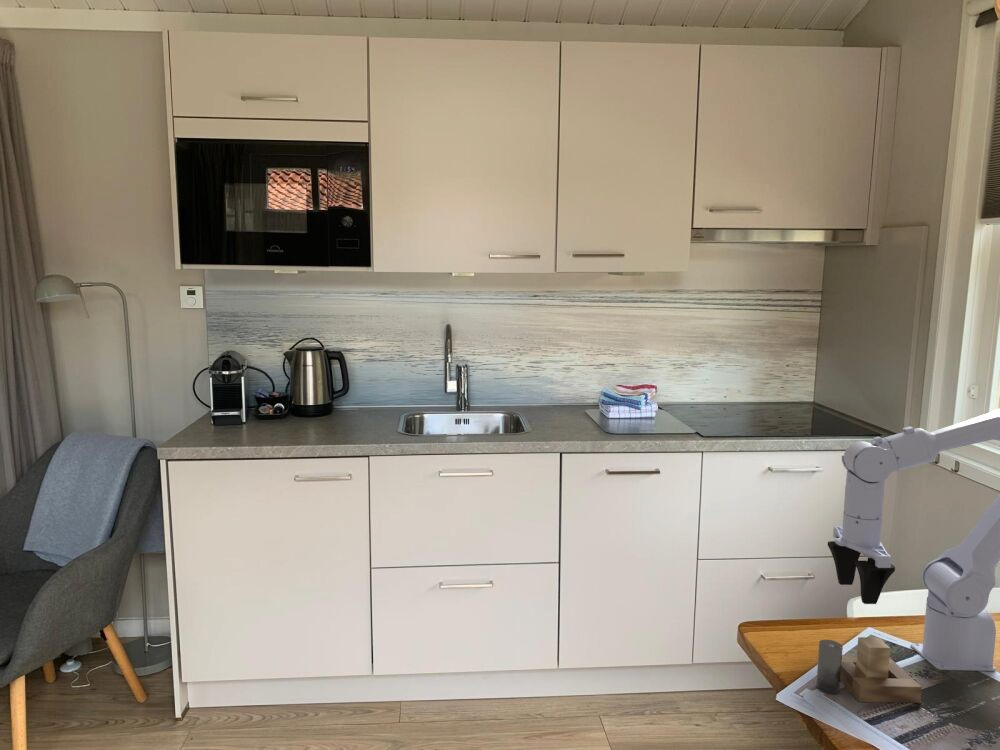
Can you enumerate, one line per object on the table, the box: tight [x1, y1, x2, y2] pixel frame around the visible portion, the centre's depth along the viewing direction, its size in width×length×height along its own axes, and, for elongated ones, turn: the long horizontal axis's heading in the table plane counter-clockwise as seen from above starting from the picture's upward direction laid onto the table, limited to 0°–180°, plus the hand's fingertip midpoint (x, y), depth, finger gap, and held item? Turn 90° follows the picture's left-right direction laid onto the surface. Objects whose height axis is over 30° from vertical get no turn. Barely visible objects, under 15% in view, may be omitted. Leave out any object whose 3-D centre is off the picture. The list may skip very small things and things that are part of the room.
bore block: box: [840, 654, 923, 704], centre depth 107 cm, size 9×9×2 cm
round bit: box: [815, 639, 843, 695], centre depth 106 cm, size 3×3×7 cm
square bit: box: [856, 636, 891, 678], centre depth 107 cm, size 3×3×7 cm
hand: (856, 593), depth 117 cm, fingers open, 7 cm apart
